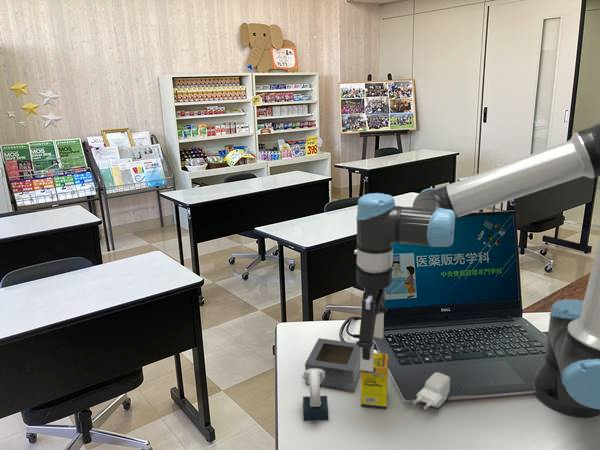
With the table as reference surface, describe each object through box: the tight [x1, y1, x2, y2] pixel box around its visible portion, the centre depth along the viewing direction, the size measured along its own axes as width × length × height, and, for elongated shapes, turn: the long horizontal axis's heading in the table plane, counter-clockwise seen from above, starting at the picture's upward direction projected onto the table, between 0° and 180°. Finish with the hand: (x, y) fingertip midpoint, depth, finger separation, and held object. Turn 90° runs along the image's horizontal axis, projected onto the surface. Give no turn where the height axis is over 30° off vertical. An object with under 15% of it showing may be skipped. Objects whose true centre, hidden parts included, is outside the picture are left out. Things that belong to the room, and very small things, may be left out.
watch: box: [301, 369, 329, 422], centre depth 106 cm, size 6×8×11 cm
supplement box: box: [360, 352, 389, 410], centre depth 109 cm, size 6×6×11 cm
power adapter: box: [412, 371, 451, 411], centre depth 107 cm, size 11×5×6 cm, turn 137°
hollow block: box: [304, 337, 361, 393], centre depth 120 cm, size 12×12×6 cm
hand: (372, 352), depth 107 cm, fingers open, 13 cm apart
